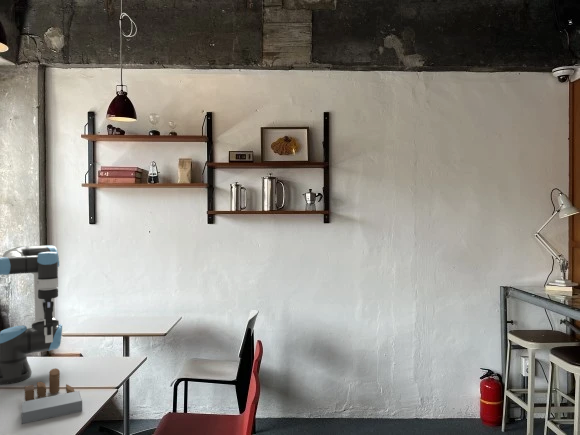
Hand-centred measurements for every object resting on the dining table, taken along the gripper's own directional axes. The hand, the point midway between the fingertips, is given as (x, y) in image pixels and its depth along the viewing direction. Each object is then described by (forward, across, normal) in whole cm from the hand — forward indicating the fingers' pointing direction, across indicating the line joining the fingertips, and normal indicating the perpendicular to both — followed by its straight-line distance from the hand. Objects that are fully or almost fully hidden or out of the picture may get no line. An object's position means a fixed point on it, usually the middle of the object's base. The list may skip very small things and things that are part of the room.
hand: (48, 338), depth 185 cm
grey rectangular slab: (+24, +19, 0) cm, 30 cm away
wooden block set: (+24, +1, 0) cm, 24 cm away
